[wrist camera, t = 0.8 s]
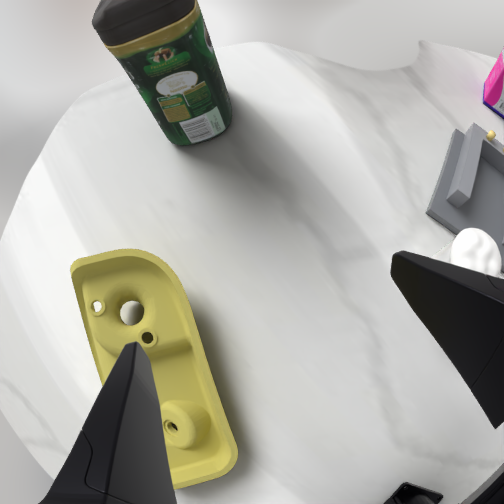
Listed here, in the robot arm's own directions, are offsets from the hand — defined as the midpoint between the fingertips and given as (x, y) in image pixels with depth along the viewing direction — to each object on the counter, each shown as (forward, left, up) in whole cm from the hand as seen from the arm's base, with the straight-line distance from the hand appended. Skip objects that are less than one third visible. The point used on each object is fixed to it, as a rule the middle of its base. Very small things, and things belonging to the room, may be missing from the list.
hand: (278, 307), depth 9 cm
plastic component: (+6, +11, -16) cm, 20 cm away
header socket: (-12, -21, -15) cm, 29 cm away
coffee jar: (+20, -13, -16) cm, 28 cm away
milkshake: (-9, -9, -15) cm, 20 cm away
